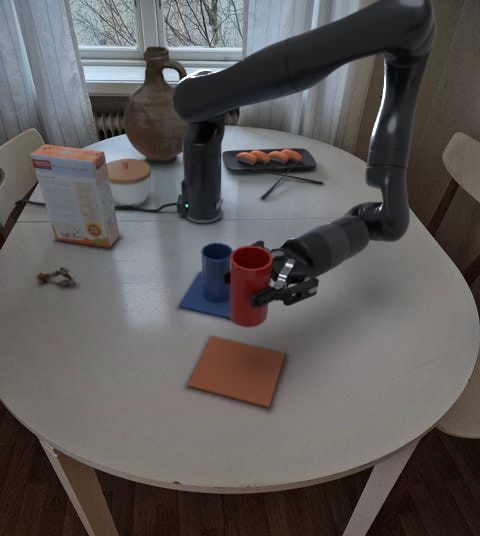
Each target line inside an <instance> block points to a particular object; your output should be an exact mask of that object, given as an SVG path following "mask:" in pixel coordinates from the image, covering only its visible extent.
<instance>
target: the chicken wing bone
mask: <svg viewBox="0 0 480 536" xmlns="http://www.w3.org/2000/svg"><path fill="white" fill-rule="evenodd" d="M69 271H70V269H69V268H68V267H63V266H61V267H59V269H58V270H57V269H56V270H53V271H50V272H48V273H43V272H42V271H39V273H37V275H35V278H36V280H37V281H38V282H39V283H40V284H43V283H44V282H45V281H46V280H48V279H50V278H51V279H53V278H58V277H59V276H62V277H64V278H65V279H62V280H61V281H60V282H59V285H61V286H62V287H63V286H68V285H69V284H71V285H72V287H73V286H76V285H77V282H76V281H75V279H74V278H73V277H72V275H70V273H69Z"/></svg>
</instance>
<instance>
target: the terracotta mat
mask: <svg viewBox="0 0 480 536" xmlns="http://www.w3.org/2000/svg"><path fill="white" fill-rule="evenodd" d="M285 356H286V353H283V352H279V351H275V350H272V349H271V350H270V349H268V348H267V349H266V348H262V347H258V346H255V345H251V344H246V343H242V342H238V341H233V340H229V339H226V338H221V337H217V336H213V335H212V336H211V337H210V339H209V341H208V343H207V345H206V346H205V349H204V351H203V353H202V355H201V357H200V359H199V362H198V363H197V366H196V368H195V369H194V372H193V374H192V376H191V378H190V380H189V382H188V384H187V387H188V388H190V389H193V390H199V391H203V392H205V393H210V394H212V395H213V394H214V395H216V396H221V397H224V398H228V399H233V400H236V401H240V402H243V403H246V404H250V405H254V406H258V407H262V408H265V409H270V407H271V403H272V401H273V396H274V394H275V390H276V387H277V383H278V380H279V376H280V373H281V370H282V366H283V363H284V360H285Z"/></svg>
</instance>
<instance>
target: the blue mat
mask: <svg viewBox="0 0 480 536" xmlns="http://www.w3.org/2000/svg"><path fill="white" fill-rule="evenodd" d="M178 308H180V309H184V310H188V311H193V312H198V313H201V314H205V315H210V316H215V317H219V318H223V319H226V320H231V318H230V315H229V299H228V300H227V301H225V302H222V303H212V302H210V301H207V300H206V299H205V298H204V297H203V293H202V270H201V271H199V272H198V274H197V276H196V277H195V279H194V281H193V282H192V283H191V285H190V287H189V288H188V290H187V292H186V293H185V295H184V297H183V299H181V302H180V303H179V306H178Z"/></svg>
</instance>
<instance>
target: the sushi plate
mask: <svg viewBox="0 0 480 536" xmlns="http://www.w3.org/2000/svg"><path fill="white" fill-rule="evenodd" d="M221 159H222V160H223V163H224V166H225V168H226V169H227V170H229V171H233V172H260V173H266V174H269V175H275V176H279V177H280V179H278V180H277V181H276V182H275V183H274V184H273V185H272V186H271V187H270V188H269V189H268V190H267V191H266V192H265V193H264V194H263V195H262V196H261V200H264V199H265V198H266V197H267V196H268V195H269V194H270V193H271V192H272V191H273V190H274V189H275V188H276V187H277V186H278V185H279V184H280V183H281V181H283V179H284V178H288V179H289V178H290V179H294V180H299V181H303V182H308V183H313V184H319V185H323V183H324V182H323V181H320V180H315V179H309V178H304V177H299V176H294V175H289V173H290V172H291V171H292V170H300V169H312V168H315V167H317V161H316V159H315V158H314V157H313V155H312V154H311V152H310V151H309V150H308V149H306V148H301V147H295V148H294V147H291V148H264V149H262V148H261V149H260V148H259V149H233V150H232V149H231V150H226V151H225V150H224V151H223V152H221ZM280 170H281V171H282V170H288V171H287V172H286V173H284V174H283V173H277V172H272V171H280Z"/></svg>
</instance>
